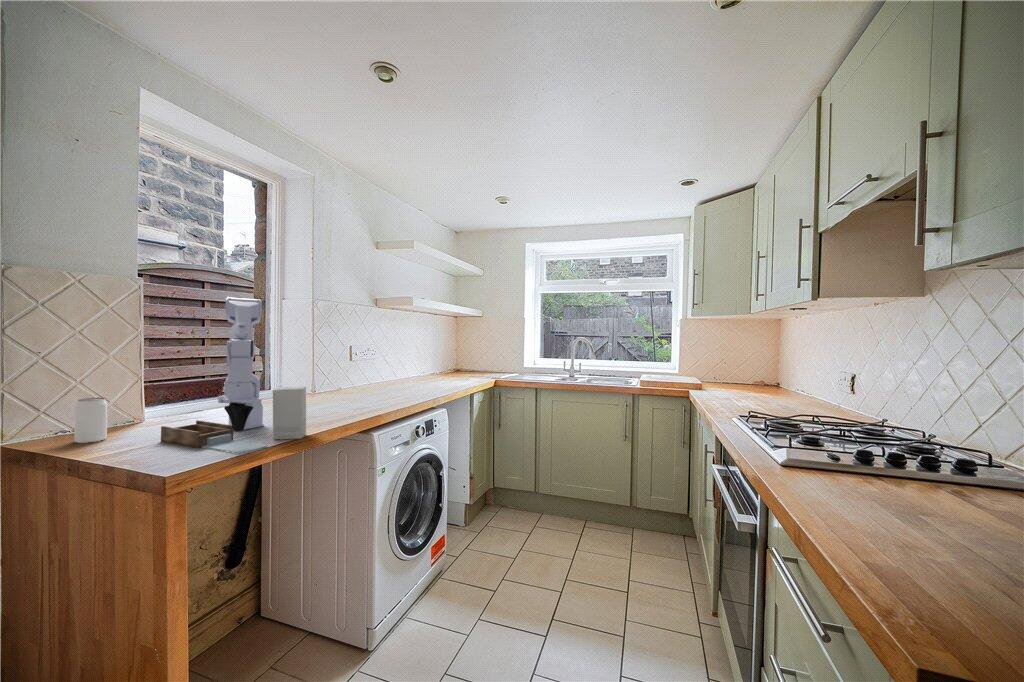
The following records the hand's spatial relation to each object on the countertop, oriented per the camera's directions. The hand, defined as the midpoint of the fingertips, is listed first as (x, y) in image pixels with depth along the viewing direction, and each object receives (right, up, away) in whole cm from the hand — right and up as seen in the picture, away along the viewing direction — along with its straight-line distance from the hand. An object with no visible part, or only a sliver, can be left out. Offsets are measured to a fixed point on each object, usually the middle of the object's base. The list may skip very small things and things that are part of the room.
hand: (238, 430), depth 115 cm
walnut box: (-16, -4, +6) cm, 18 cm away
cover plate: (-1, -5, +1) cm, 6 cm away
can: (-44, -4, +2) cm, 44 cm away
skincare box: (+7, -5, +13) cm, 16 cm away
